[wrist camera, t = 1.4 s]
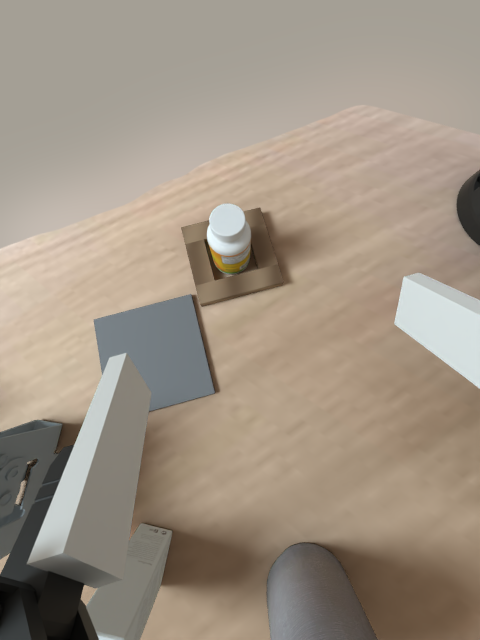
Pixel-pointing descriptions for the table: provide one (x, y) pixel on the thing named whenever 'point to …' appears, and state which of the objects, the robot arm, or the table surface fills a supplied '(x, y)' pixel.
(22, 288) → the table surface
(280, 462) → the table surface
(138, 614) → the skincare box
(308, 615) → the pillar candle
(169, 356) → the mat
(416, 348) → the table surface
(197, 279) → the socket block
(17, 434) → the bracket
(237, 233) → the supplement bottle
